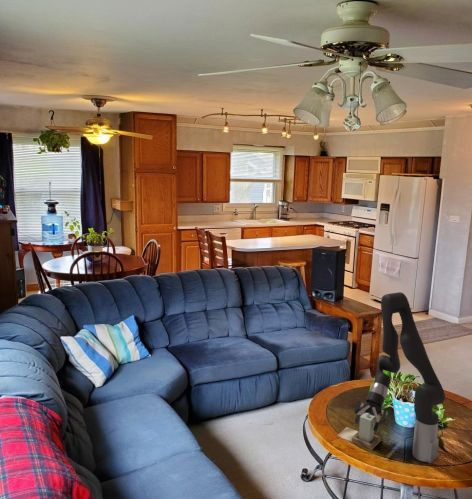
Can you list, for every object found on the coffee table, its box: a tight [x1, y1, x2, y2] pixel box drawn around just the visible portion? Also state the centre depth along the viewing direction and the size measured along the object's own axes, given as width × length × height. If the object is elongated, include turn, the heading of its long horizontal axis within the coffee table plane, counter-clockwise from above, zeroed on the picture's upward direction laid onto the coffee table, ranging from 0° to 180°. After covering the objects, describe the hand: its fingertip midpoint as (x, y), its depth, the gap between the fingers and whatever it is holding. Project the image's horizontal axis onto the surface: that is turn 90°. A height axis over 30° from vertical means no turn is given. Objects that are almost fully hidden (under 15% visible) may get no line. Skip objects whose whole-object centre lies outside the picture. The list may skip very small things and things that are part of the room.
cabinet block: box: [358, 413, 376, 443], centre depth 206 cm, size 5×5×13 cm
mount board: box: [337, 426, 381, 451], centre depth 209 cm, size 17×10×3 cm, turn 50°
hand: (365, 427), depth 205 cm, fingers open, 8 cm apart
